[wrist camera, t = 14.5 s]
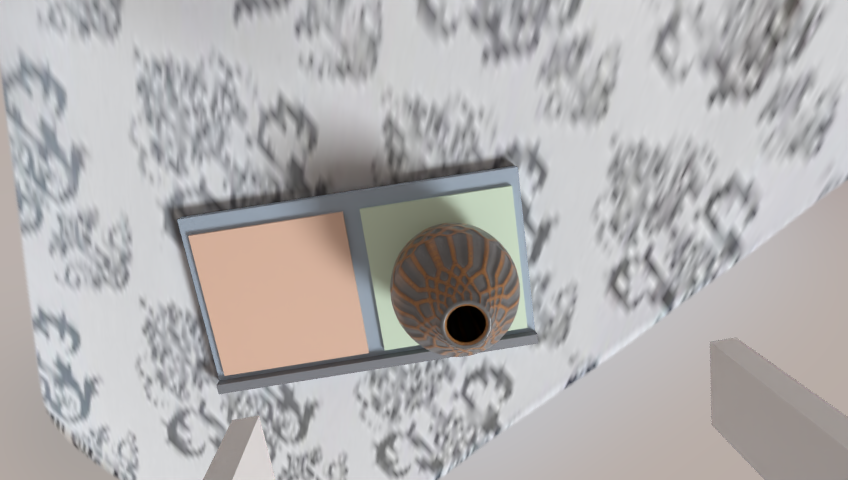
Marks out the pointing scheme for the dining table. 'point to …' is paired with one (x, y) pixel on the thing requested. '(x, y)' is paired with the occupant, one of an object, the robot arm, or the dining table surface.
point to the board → (335, 275)
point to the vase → (455, 289)
